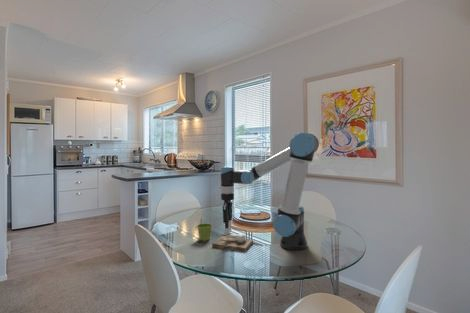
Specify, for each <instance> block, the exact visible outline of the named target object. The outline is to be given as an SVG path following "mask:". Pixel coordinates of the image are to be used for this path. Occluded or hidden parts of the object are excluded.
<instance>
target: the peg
mask: <svg viewBox="0 0 470 313" xmlns="http://www.w3.org/2000/svg"><path fill="white" fill-rule="evenodd" d="M229 225H230V220H229ZM221 236H226V237H227V238H233V239H236V242H239V243H243V242H245V239H246V234H245V233H237V234H234V233H233V234H232V233H231V232H230V233H229V234H227V233H225V234H222V233H221ZM221 236H220V237H221Z"/></svg>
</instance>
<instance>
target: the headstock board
mask: <svg viewBox="0 0 470 313" xmlns="http://www.w3.org/2000/svg"><path fill="white" fill-rule="evenodd" d="M253 244H254V239H252V238H251V239H249V238H245V242H243V243H239V242H236V239H233V238H227V237H226V236H220V237H219V238H217V239H216V240H215V241H214V242H212V243H211V247H212V248H215V249H224V250H232V251H238V252H246V251H247V250H248V249H249V248H250V247H251V246H252V245H253Z"/></svg>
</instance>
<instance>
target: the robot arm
mask: <svg viewBox="0 0 470 313" xmlns="http://www.w3.org/2000/svg"><path fill="white" fill-rule="evenodd" d="M319 144H320V142H319V140H318V138H317V136H316V135H315V134H312V133H308V132H299V133H296V134H294V135H293V136H292V137H291V139H290V142H289V147H288V148H286V149H284V150H282V151H280V152H279V153H276V154H275V155H272V156H271V157H269V158H268V159H266V160H264V161H261V162H260V163H258V164H256V165H255V166H253V167H251V168H249V169H244V170H235V169H234V167H233V166H221V168H220V187H219V188H220V192H221V194H220V197H221V201H224V202H223V205H222V220H223V221H222V223H224V234H226V233H227V234H229V233H230V234H231V232H232V221H233V201H234V200H235V194H234V192H235V184H240V185H241V184H242V185H251V184H253V182H255V181H257V180H258V179H260V178H262V177H263V176H264V177H265V176H266V175H267V174H270V173H271V172H273V171H275V170H277V169H279V168H281V167H283V166H286V165H287V164H289V163H290V166H289V172H288V174H287V175H288V176H287V180H286V185H285V189H284V190H285V191H284V195H283V200H282V202H281V203H282V204H281V205H279V206H278V209H277V214H276V216H274V219H273V222H272V227H273V230H274V231H275V233H277V234H278V235H279V236H281V237H280V240H279V246H280V247H281V248H283V249H285V250H289V251H302V250H305V249H307V247H308V242H307V239H306V238H307V237H306V235H305V208H304V207H303V206H301V205H300V203H301V199H302V194H303V190H304V186H305V180H306V178H307V177H306V176H307V172H308V167H309V164H311V163H313V160H314V154H315V153H317V150H318V149H319V147H320V146H319ZM229 220H230V225H229Z"/></svg>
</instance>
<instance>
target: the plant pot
mask: <svg viewBox="0 0 470 313" xmlns="http://www.w3.org/2000/svg"><path fill="white" fill-rule="evenodd" d="M212 227H213V225H212V224H211V223H199V224H197V225H196V228H197V230H198V235H199V241H203V242H207V241H209V240H210V238H211V232H212V231H211V230H212Z"/></svg>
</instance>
